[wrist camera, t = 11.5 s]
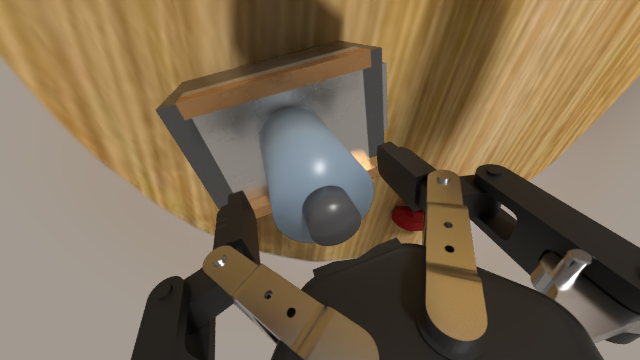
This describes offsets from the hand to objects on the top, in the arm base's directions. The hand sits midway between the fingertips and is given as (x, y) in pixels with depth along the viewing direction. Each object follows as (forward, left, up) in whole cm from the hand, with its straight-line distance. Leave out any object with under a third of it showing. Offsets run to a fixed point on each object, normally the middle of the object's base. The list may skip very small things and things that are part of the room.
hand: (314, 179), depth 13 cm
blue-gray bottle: (0, 0, -6) cm, 6 cm away
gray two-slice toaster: (0, 0, -17) cm, 17 cm away
